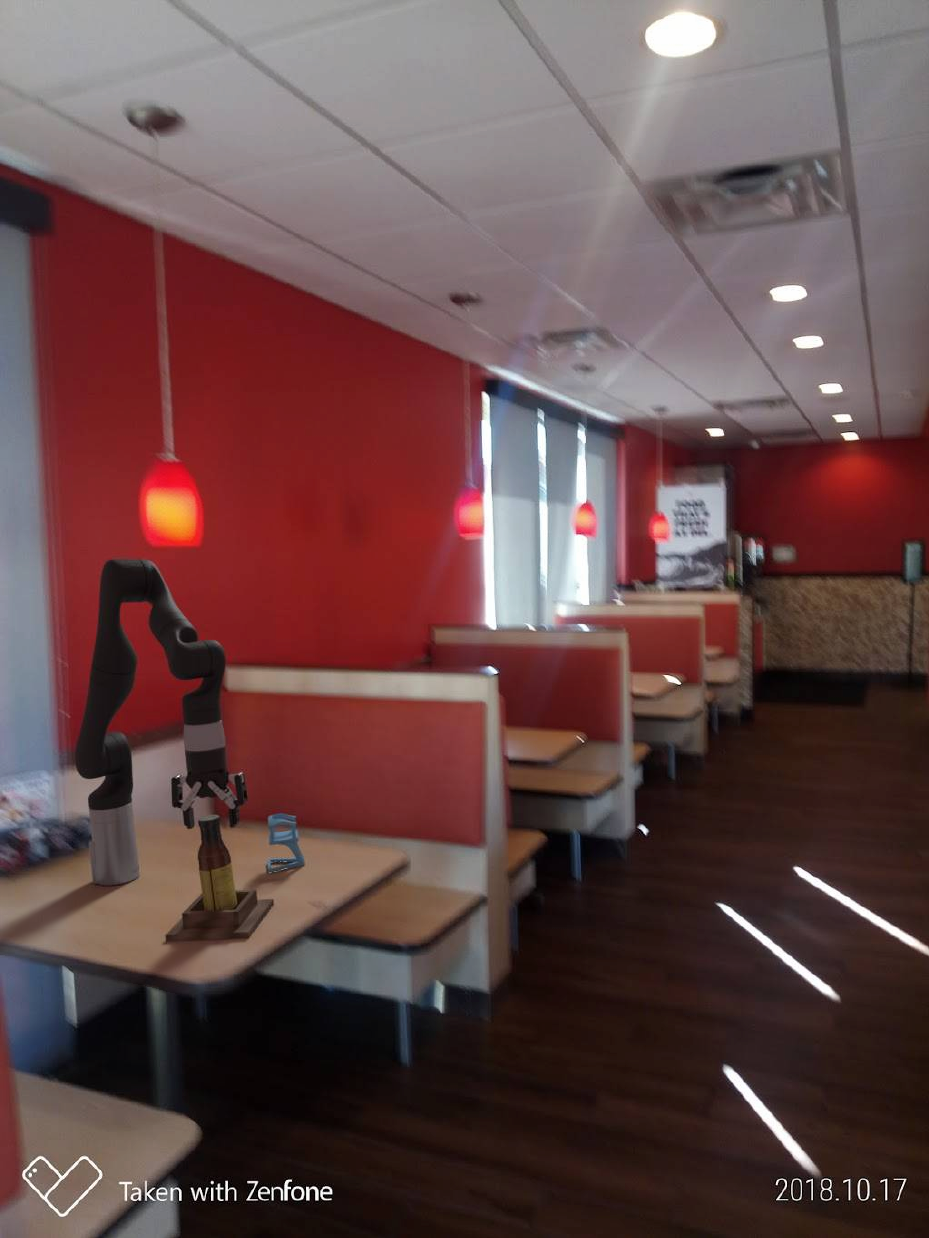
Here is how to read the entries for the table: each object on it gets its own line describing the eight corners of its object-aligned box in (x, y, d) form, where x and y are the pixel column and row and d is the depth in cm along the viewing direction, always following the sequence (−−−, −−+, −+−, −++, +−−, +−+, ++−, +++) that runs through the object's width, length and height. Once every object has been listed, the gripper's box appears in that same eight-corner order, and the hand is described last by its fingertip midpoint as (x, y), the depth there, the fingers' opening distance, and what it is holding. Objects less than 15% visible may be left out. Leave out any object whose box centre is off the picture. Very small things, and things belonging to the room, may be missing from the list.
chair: (305, 868, 210) (300, 816, 209) (267, 874, 209) (263, 821, 208) (304, 858, 218) (299, 807, 217) (267, 863, 216) (263, 812, 215)
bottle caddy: (166, 941, 176) (163, 919, 175) (197, 907, 191) (195, 887, 191) (248, 938, 174) (246, 916, 174) (274, 904, 190) (272, 884, 190)
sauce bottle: (242, 909, 185) (233, 811, 184) (231, 922, 179) (221, 821, 177) (210, 910, 186) (201, 812, 184) (198, 923, 180) (188, 822, 178)
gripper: (161, 751, 177) (169, 834, 178) (234, 747, 175) (241, 832, 177) (176, 742, 184) (184, 822, 186) (247, 738, 183) (254, 820, 184)
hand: (212, 827), depth 181 cm, fingers open, 8 cm apart
